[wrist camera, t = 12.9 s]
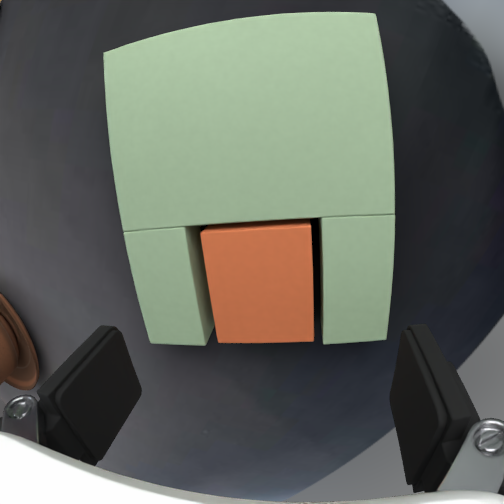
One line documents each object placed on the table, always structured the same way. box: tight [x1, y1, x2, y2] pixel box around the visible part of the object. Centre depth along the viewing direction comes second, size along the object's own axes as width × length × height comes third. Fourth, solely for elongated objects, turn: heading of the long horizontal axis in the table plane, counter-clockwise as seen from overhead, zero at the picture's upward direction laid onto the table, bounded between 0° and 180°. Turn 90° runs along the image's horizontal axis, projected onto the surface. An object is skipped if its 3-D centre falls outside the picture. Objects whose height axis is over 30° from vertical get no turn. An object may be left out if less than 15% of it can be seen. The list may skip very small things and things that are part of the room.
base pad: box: [104, 12, 395, 346], centre depth 15 cm, size 13×16×2 cm
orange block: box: [200, 218, 314, 343], centre depth 16 cm, size 5×6×2 cm
